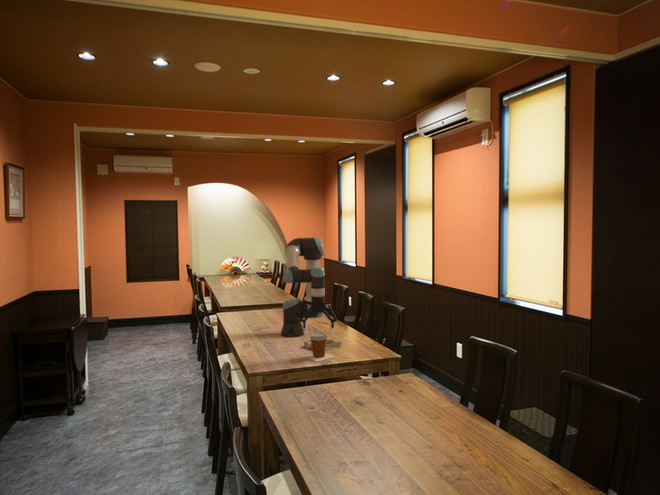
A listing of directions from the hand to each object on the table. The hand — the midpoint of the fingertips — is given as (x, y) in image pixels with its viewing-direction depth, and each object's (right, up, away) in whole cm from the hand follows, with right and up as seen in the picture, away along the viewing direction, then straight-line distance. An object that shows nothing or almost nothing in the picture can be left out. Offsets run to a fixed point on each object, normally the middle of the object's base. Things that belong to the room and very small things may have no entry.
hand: (318, 334), depth 256 cm
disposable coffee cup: (0, -13, +1) cm, 13 cm away
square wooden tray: (+2, -12, +22) cm, 25 cm away
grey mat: (0, -13, +1) cm, 13 cm away
